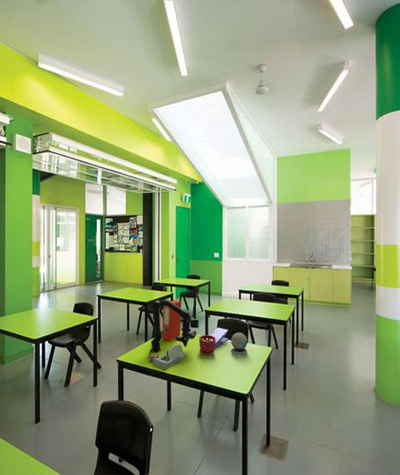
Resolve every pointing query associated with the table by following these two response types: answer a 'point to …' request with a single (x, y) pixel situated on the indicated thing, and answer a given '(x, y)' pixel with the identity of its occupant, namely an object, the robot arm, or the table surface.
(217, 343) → the stapler
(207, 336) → the plant pot
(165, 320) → the file binder
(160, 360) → the channel jig
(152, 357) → the spacer block
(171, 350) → the hinge
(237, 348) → the webcam
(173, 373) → the table surface
